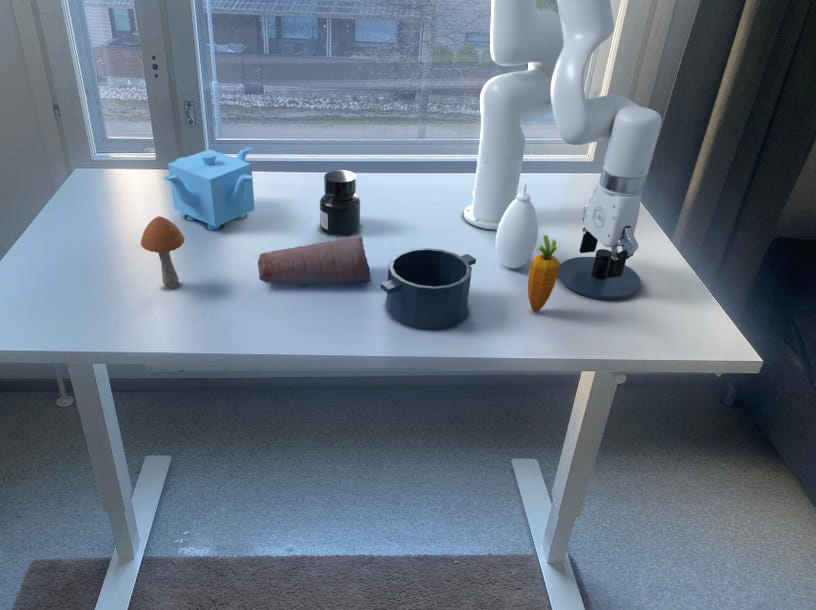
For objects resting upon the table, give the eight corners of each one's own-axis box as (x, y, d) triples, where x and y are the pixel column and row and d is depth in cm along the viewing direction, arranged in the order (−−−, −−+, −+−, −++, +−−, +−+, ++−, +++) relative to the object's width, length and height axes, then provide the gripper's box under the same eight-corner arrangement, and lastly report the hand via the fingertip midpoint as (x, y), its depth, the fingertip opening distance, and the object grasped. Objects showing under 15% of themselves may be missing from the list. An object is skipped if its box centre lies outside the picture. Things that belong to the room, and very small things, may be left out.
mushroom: (155, 302, 132) (142, 229, 123) (144, 282, 137) (131, 211, 128) (196, 291, 134) (186, 219, 126) (183, 273, 140) (173, 203, 131)
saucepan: (359, 305, 131) (360, 265, 126) (442, 276, 139) (446, 237, 134) (407, 343, 121) (410, 301, 116) (493, 309, 130) (500, 269, 125)
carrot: (549, 321, 127) (566, 246, 118) (521, 318, 127) (535, 243, 118) (548, 306, 130) (564, 233, 121) (521, 303, 131) (535, 230, 122)
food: (362, 266, 143) (363, 226, 137) (371, 290, 135) (373, 249, 130) (257, 273, 140) (255, 233, 135) (261, 298, 132) (258, 256, 127)
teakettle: (179, 201, 168) (170, 140, 159) (257, 199, 169) (253, 138, 160) (171, 237, 153) (160, 172, 144) (257, 234, 154) (252, 169, 145)
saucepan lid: (539, 274, 140) (545, 247, 136) (592, 254, 147) (599, 227, 143) (602, 310, 129) (610, 281, 126) (656, 286, 136) (665, 258, 133)
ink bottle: (327, 216, 162) (326, 165, 154) (364, 220, 160) (365, 169, 152) (314, 234, 154) (313, 182, 147) (353, 239, 152) (354, 187, 145)
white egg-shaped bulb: (535, 262, 144) (551, 178, 133) (525, 279, 138) (541, 193, 128) (498, 254, 147) (511, 171, 136) (486, 270, 141) (499, 185, 131)
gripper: (579, 163, 132) (560, 245, 142) (629, 202, 119) (605, 288, 129) (615, 160, 133) (594, 241, 144) (669, 198, 120) (641, 284, 130)
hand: (599, 263), depth 136 cm, fingers open, 9 cm apart
